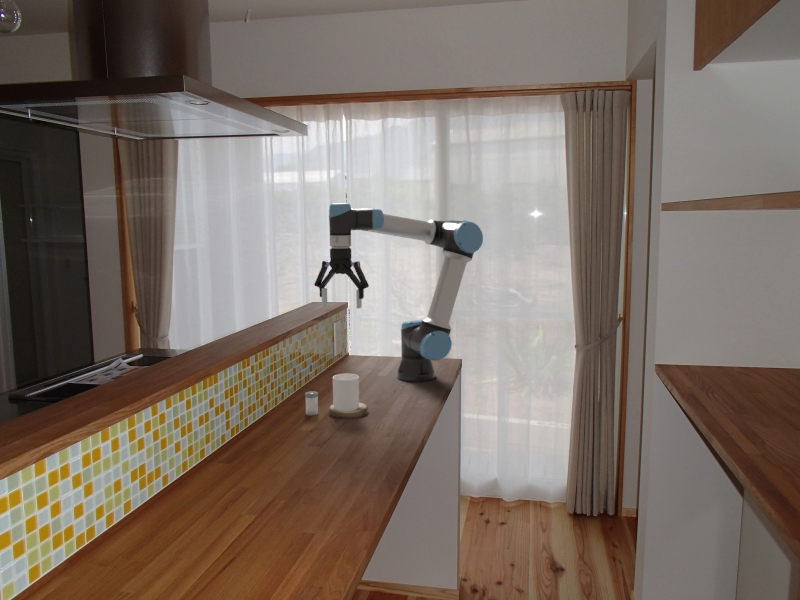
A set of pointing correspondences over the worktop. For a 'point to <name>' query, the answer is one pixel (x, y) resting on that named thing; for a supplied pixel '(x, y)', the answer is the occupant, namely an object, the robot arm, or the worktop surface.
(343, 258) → the robot arm
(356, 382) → the mug
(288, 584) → the worktop surface
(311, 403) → the spice jar
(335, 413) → the beige flat disc
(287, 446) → the worktop surface
